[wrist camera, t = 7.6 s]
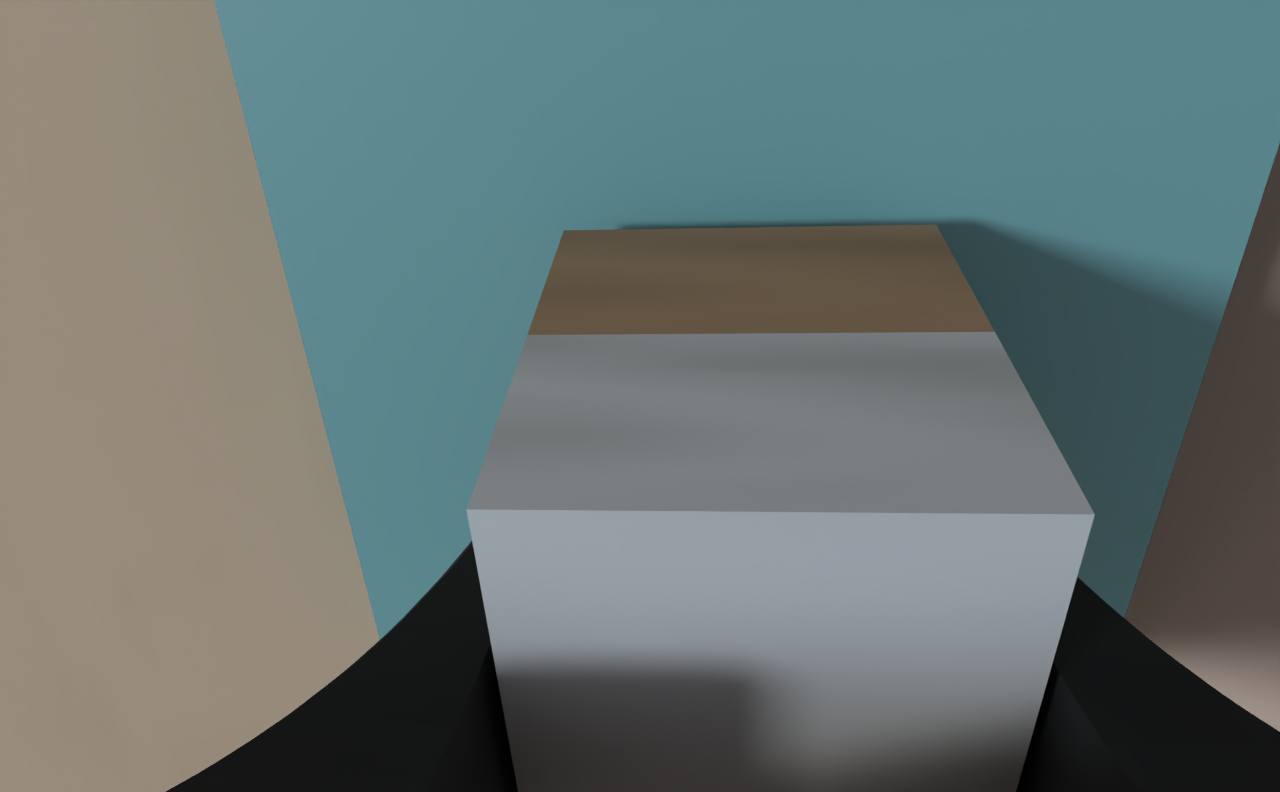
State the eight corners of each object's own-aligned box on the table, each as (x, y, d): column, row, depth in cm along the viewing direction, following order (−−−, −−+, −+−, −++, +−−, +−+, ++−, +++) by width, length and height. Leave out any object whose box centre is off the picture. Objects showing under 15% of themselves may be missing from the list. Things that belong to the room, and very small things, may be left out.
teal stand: (1259, -72, 13) (1344, -57, 11) (1056, 650, 20) (1089, 727, 18) (272, -37, 14) (209, -18, 12) (423, 637, 21) (398, 708, 19)
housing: (878, 645, 17) (953, 1014, 11) (601, 640, 17) (555, 993, 12) (936, 224, 12) (1095, 513, 7) (563, 230, 13) (466, 508, 8)
